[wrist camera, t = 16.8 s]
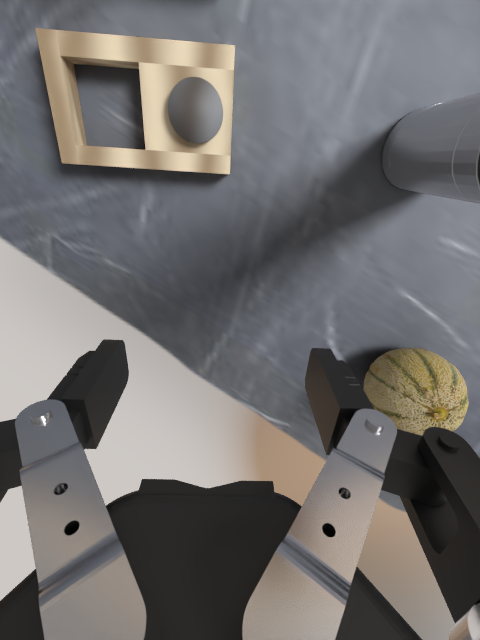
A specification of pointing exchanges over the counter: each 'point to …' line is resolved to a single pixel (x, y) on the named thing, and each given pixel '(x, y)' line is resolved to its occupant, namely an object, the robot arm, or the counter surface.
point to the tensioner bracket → (147, 99)
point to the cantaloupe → (417, 390)
